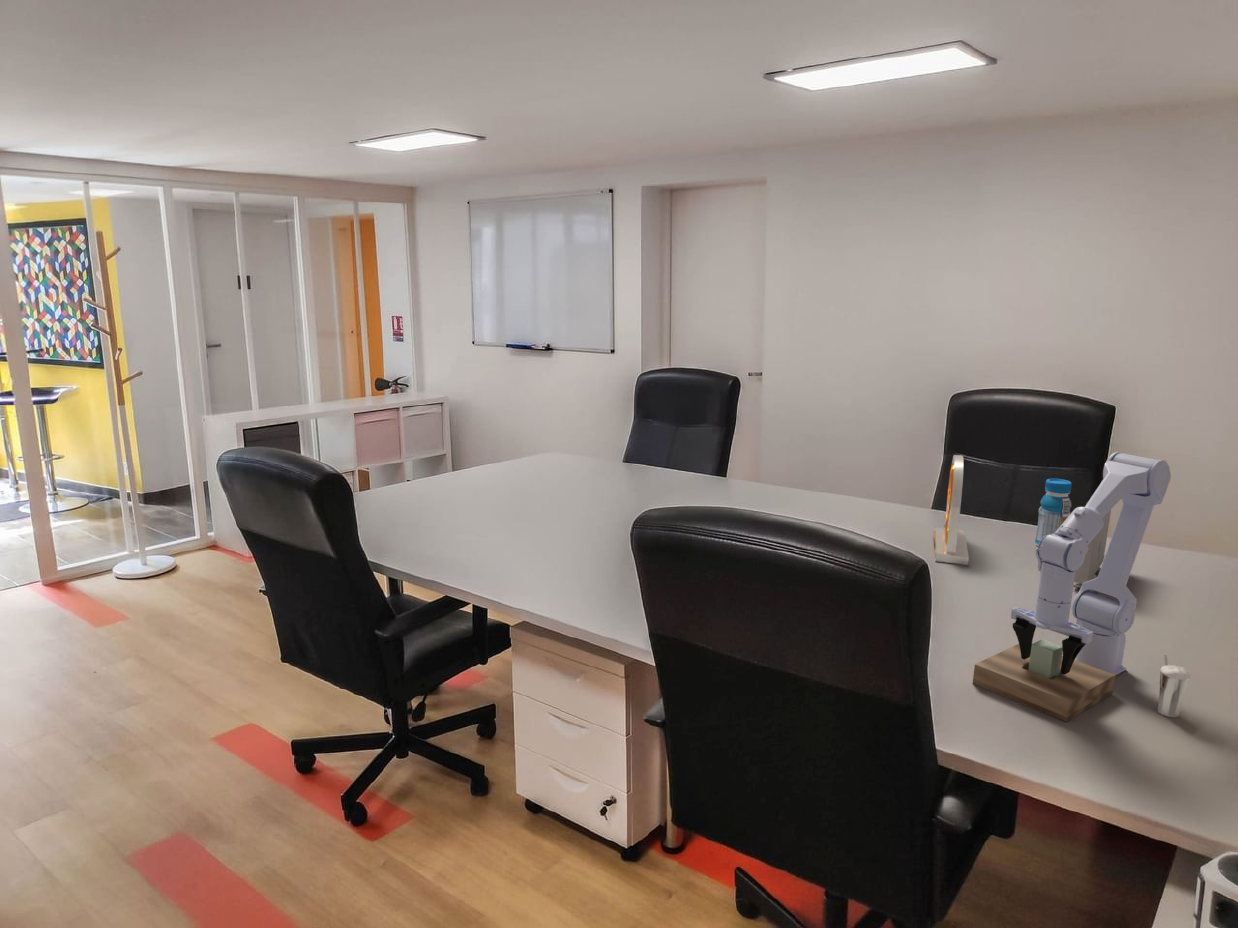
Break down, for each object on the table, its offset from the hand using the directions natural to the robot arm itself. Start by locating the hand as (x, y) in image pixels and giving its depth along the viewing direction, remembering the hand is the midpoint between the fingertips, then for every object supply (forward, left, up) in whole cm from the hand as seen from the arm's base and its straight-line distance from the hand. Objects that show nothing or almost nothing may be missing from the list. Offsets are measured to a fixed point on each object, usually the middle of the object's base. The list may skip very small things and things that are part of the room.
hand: (1044, 664), depth 163 cm
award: (-64, -60, -5) cm, 88 cm away
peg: (0, 0, -4) cm, 4 cm away
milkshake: (-10, +18, -5) cm, 21 cm away
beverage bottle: (-91, -44, -5) cm, 101 cm away
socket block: (0, 0, -5) cm, 5 cm away
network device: (-72, -25, -5) cm, 76 cm away
